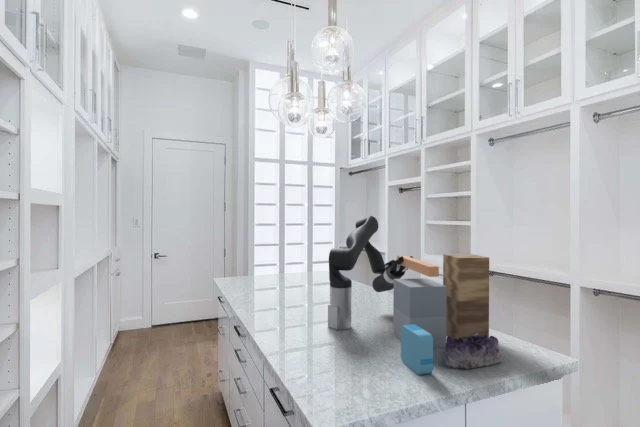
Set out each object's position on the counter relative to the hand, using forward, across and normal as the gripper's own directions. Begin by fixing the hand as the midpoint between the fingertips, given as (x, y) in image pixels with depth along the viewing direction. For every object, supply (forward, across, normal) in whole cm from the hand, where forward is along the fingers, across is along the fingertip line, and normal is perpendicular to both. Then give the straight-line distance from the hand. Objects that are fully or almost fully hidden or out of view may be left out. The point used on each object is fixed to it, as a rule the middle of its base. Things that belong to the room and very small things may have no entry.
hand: (407, 258), depth 145 cm
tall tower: (-4, +19, +32) cm, 37 cm away
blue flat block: (+15, -12, +43) cm, 46 cm away
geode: (+14, +8, +42) cm, 45 cm away
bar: (+5, 0, +7) cm, 9 cm away
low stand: (-5, 0, +31) cm, 32 cm away
